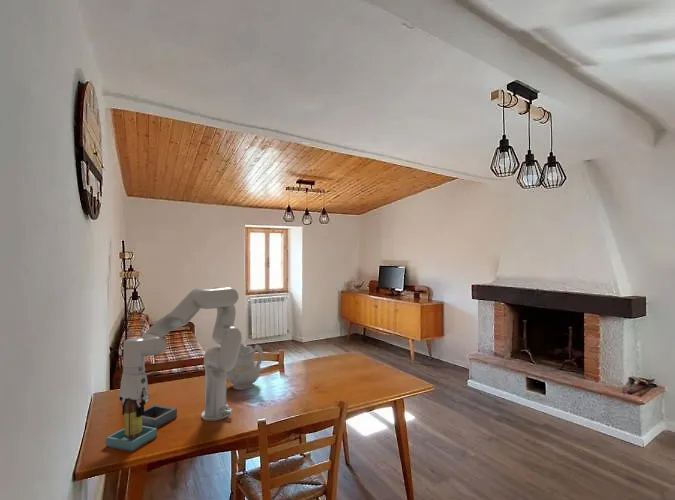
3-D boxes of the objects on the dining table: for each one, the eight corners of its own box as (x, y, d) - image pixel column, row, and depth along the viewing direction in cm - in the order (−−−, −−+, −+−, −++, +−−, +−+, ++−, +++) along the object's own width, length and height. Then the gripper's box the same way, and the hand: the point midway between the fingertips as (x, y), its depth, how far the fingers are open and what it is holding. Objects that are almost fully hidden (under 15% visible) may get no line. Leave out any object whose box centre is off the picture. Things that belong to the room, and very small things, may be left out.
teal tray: (156, 436, 154) (157, 428, 154) (131, 451, 142) (131, 442, 142) (132, 432, 158) (132, 423, 158) (106, 446, 146) (106, 437, 146)
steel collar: (176, 417, 173) (177, 408, 173) (155, 429, 161) (155, 419, 161) (154, 413, 177) (154, 404, 177) (131, 425, 165) (131, 415, 165)
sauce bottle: (144, 432, 153) (146, 383, 154) (137, 440, 147) (138, 389, 147) (128, 432, 153) (129, 383, 153) (120, 440, 147) (121, 389, 147)
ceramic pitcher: (268, 384, 223) (269, 341, 225) (258, 393, 204) (259, 346, 206) (233, 382, 225) (234, 340, 228) (219, 391, 206) (221, 345, 208)
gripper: (158, 369, 152) (157, 413, 151) (125, 365, 157) (124, 408, 157) (143, 374, 144) (142, 421, 144) (109, 370, 150) (108, 415, 149)
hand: (133, 414), depth 150 cm, fingers open, 6 cm apart
